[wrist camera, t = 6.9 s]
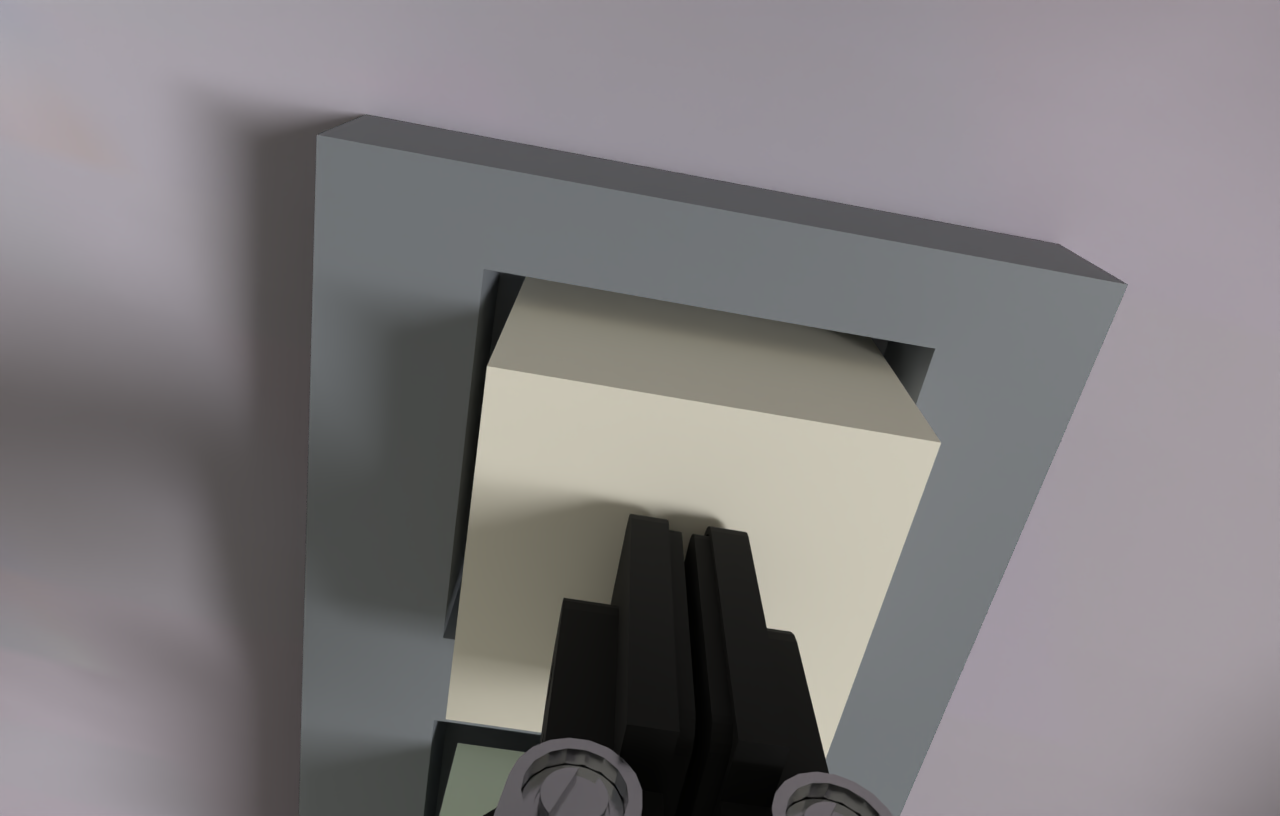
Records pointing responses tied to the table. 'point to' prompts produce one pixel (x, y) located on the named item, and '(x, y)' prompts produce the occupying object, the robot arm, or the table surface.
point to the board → (663, 270)
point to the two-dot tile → (477, 779)
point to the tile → (679, 479)
